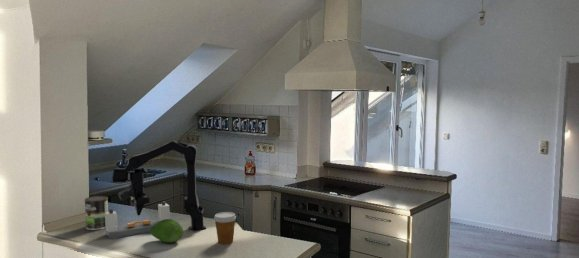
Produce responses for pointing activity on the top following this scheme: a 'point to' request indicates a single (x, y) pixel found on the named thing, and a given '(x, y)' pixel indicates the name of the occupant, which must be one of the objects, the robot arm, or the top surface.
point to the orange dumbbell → (138, 222)
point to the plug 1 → (111, 221)
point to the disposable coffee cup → (225, 227)
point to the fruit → (167, 231)
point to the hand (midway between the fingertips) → (138, 215)
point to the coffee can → (96, 212)
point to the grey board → (131, 230)
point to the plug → (163, 211)
